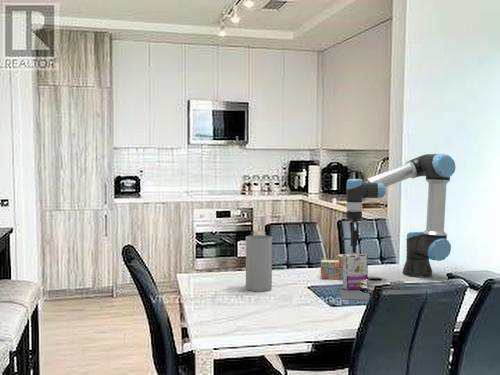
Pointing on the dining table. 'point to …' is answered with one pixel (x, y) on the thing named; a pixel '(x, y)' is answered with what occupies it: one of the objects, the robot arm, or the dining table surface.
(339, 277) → the stack of blocks
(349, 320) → the dining table surface
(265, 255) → the cylinder vase
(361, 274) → the candy bar box
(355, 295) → the mat
